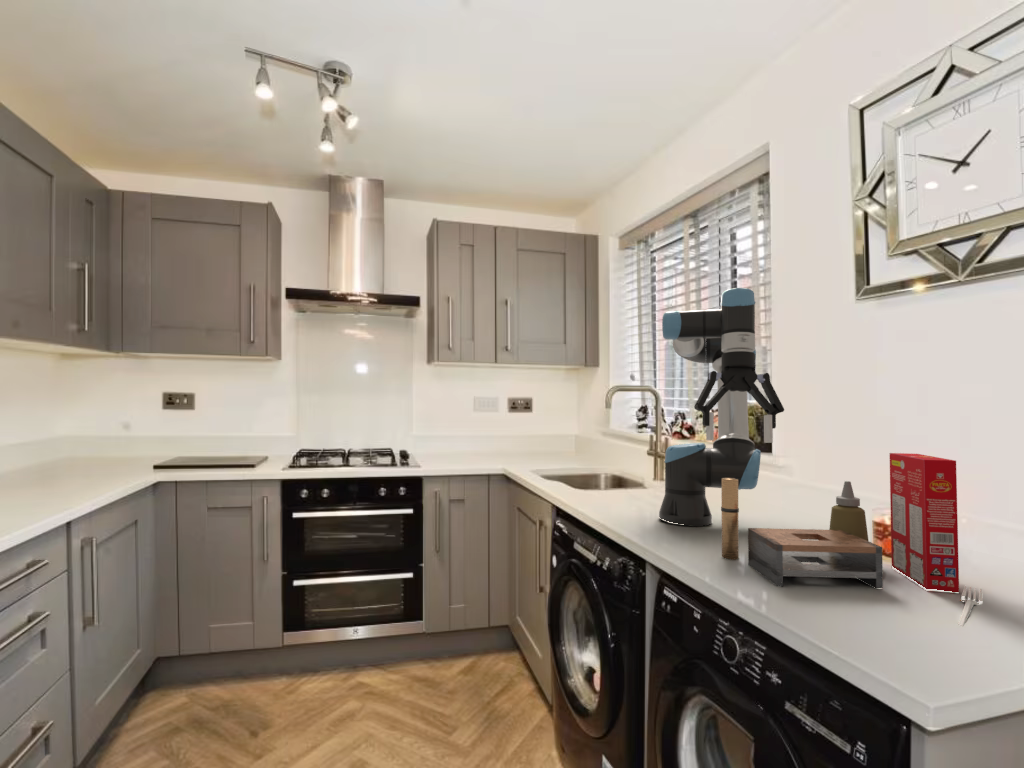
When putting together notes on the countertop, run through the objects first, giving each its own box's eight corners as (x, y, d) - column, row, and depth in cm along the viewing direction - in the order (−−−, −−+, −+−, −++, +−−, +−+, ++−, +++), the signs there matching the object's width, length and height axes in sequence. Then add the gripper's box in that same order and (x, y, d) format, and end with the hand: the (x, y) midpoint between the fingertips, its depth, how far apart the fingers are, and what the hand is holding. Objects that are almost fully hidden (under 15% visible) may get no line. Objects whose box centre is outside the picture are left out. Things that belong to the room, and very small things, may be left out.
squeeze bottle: (832, 564, 119) (831, 482, 120) (824, 554, 127) (823, 478, 127) (874, 568, 116) (873, 485, 117) (864, 558, 124) (863, 480, 124)
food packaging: (959, 593, 101) (956, 460, 102) (927, 591, 102) (924, 459, 103) (919, 570, 115) (917, 453, 116) (891, 568, 117) (889, 453, 117)
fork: (947, 628, 87) (946, 616, 87) (962, 594, 101) (961, 584, 101) (973, 634, 85) (973, 622, 85) (985, 599, 99) (984, 589, 99)
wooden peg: (718, 554, 126) (718, 477, 126) (735, 555, 125) (735, 477, 126) (724, 559, 122) (724, 479, 122) (741, 559, 122) (741, 480, 122)
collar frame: (748, 564, 118) (748, 528, 118) (841, 566, 117) (841, 530, 117) (776, 586, 104) (776, 544, 104) (882, 589, 103) (882, 547, 103)
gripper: (690, 347, 125) (690, 438, 123) (798, 351, 125) (800, 443, 122) (681, 353, 133) (681, 439, 130) (783, 357, 132) (784, 443, 130)
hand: (739, 441), depth 126 cm, fingers open, 13 cm apart
